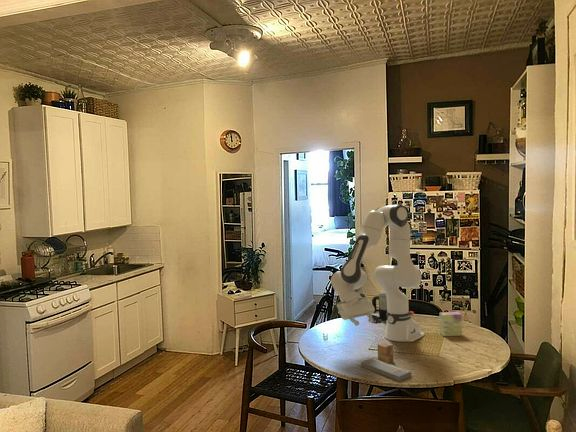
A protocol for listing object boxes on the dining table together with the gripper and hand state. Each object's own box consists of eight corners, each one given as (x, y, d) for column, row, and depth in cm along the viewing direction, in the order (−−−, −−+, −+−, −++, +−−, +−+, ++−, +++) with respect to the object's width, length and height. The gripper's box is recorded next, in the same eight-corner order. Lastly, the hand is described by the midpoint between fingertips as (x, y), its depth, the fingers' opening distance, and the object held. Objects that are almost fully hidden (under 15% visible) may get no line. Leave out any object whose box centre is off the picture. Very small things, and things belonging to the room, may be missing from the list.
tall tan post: (385, 358, 220) (384, 342, 219) (393, 361, 216) (393, 344, 215) (378, 361, 217) (377, 344, 216) (386, 364, 213) (385, 347, 212)
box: (457, 332, 255) (457, 311, 254) (462, 335, 249) (461, 314, 249) (439, 333, 255) (438, 312, 254) (443, 336, 249) (442, 315, 248)
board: (373, 362, 216) (373, 357, 216) (411, 376, 198) (411, 371, 198) (361, 366, 211) (361, 361, 211) (398, 381, 193) (398, 376, 193)
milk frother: (394, 316, 291) (394, 293, 290) (393, 323, 276) (392, 299, 275) (371, 315, 295) (371, 292, 294) (369, 322, 280) (368, 298, 279)
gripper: (338, 299, 225) (352, 323, 217) (368, 293, 237) (382, 316, 229) (332, 306, 229) (345, 330, 221) (362, 301, 241) (376, 323, 233)
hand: (364, 323), depth 225 cm, fingers open, 8 cm apart
